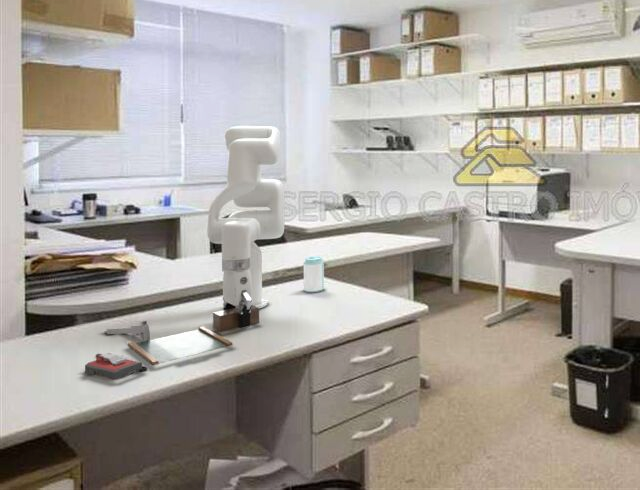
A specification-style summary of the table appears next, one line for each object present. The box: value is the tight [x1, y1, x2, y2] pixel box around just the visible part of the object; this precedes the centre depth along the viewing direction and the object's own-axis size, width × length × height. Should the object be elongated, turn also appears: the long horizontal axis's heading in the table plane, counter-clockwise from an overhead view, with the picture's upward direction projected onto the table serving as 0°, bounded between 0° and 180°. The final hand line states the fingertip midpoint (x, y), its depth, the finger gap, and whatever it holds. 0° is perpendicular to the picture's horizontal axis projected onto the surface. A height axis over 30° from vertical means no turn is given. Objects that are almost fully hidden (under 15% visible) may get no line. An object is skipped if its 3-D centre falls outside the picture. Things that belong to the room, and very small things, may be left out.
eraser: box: [212, 305, 260, 333], centre depth 165 cm, size 5×11×6 cm, turn 138°
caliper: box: [104, 320, 151, 342], centre depth 157 cm, size 20×1×6 cm, turn 61°
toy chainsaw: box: [84, 352, 148, 380], centre depth 134 cm, size 9×4×20 cm
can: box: [303, 256, 325, 293], centre depth 209 cm, size 7×7×12 cm
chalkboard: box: [127, 326, 233, 366], centre depth 149 cm, size 20×18×2 cm
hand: (236, 323), depth 165 cm, fingers open, 9 cm apart
